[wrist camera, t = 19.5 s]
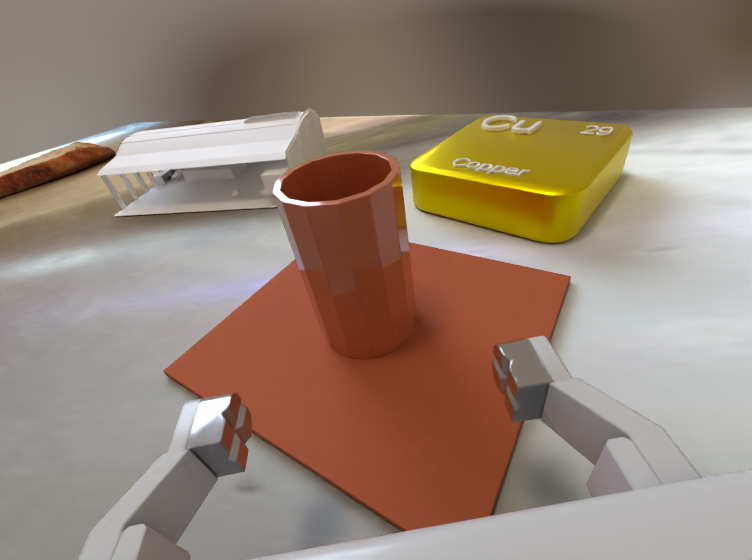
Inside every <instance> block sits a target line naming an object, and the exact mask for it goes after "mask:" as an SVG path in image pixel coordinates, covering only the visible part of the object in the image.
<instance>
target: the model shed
mask: <svg viewBox="0 0 752 560" xmlns="http://www.w3.org/2000/svg"><path fill="white" fill-rule="evenodd" d="M120 144H121V146H120V148H119V150H118V152H117V154H116V157H115V158H113V159H112V160H111V161H110V162H109V163H108V164H106V165H105V166H104V167H103V168H102V169H101V170H100V171H99V173H98V174H97V176H101V177H102V179H103V181H104V182H105V184H106V185H107V187H108V188H109V190H110V191H111V193H112V194H113V196H114V197H115V199H116V200H117V202H118V203H119V205H120V206H121V208H122V209H123V210H121V211H120V212H118V213H117V214H116V215H114V216H127V215H145V214H163V213H180V212H198V211H215V210H233V209H251V208H268V207H277V205H276V202H275V200H274V197H273V194H272V192H273V188H274V184H275V181H276V180H277V179H278V178H280V177H281V176H282V175H283V174H284V173H285V172H287V171H288V170H289V169H291V168H293V167H295V166H297V165H300V164H302V163H304V162H306V161H308V160H311V159H314V158H318V157H321V156H325V155H328V152H327V148H326V144H325V139H324V135H323V131H322V126H321V122H320V118H319V116H318V115H317V112H316V111H314V110H312V109H310V108H308V109H307V110H306V111H305V112H300V111H295V112H286V113H278V114H270V115H261V116H253V117H250V118H248V119H241V120H233V121H224V122H216V123H208V124H199V125H191V126H182V127H174V128H165V129H157V130H148V131H140V132H136V133H135V134H133V135H131V136H128V137H127V138H126V139H125V140H124V141H123V142H122V143H120ZM151 171H158V173H156V174H155V175H153V174H152V172H151ZM139 172H146V173H147V175H148V176H149V178H150V180H151V182H152V183H153V185H154V186H155V187H153V188H152V189H150V190H149V189H148V188H147V186H146V184H145V183H144V181H143V179H142V178H141V176H140V174H139ZM124 173H133V174H134V175H135V177H136V179H137V180H138V182H139V184H140V185H141V187H142V189H143V190H144V192H145V194H144V195H142V196H141V197H138V195H137V193H136V192H135V190H134V188H133V187H132V185H131V183H130V182H129V180H128V179H127V177H126V175H125V174H124ZM113 174H119V175H120V177H121V179H122V180H123V182H124V183H125V185H126V187H127V188H128V190H129V191H130V193H131V195H132V196H133V198H134V199H135V201H134V202H132V203H131V204H130V205H128V206H126V205H125V203H124V202H123V200H122V198H121V197H120V195H119V194H118V192H117V191H116V189H115V188H114V186H113V185H112V183H111V182H110V180H109V178H108V177H107V175H113Z"/></svg>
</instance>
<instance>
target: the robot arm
mask: <svg viewBox="0 0 752 560" xmlns="http://www.w3.org/2000/svg"><path fill="white" fill-rule="evenodd" d="M493 353H494V356H495V359H494V360H493V361H492V371H493V377H494V380H495V383H496V385H497V388H498V390H499V391H500V392H501V393H503V394H504V395H505V400H504V404H505V406H506V408H507V411H508V413H509V415H510V417H511V420H512V422H520V421H526V420H533V419H539V418H541V420H542V421H543V422H544V423H545V424H546V425H547V426H549V427H550V428H551V429H552V430H553V431H555V432H556V433H557V434H558V435H559V436H561V437H562V438H563V439H564V440H565V441H567V442H568V443H569V444H570V445H571V446H572V447H574V448H575V449H576V450H577V451H578V452H580V453H581V454H582V455H583V456H584V457H586V458H587V459H588V460H589V461H590V462H592V463H593V464H594V465H595V467H594V469H593V471H592V473H591V475H590V477H589V479H588V481H587V484H586V485H587V487H588V489H589V491H590V493H591V495H592V497H593V498H587V499H582V500H576V501H571V502H565V503H560V504H554V505H548V506H543V507H537V508H532V509H526V510H521V511H515V512H509V513H504V514H498V515H493V516H487V517H482V518H476V519H470V520H465V521H459V522H454V523H448V524H443V525H437V526H431V527H426V528H420V529H415V530H409V531H404V532H398V533H393V534H387V535H381V536H376V537H370V538H365V539H359V540H354V541H348V542H343V543H337V544H331V545H326V546H320V547H315V548H309V549H304V550H298V551H293V552H287V553H282V554H276V555H270V556H265V557H259V558H254V559H248V560H752V469H749V470H743V471H738V472H732V473H727V474H721V475H715V476H710V477H704V478H702V477H701V476H700V474H699V473H698V472H697V471H696V469H695V468H694V467H693V465H692V464H691V463H690V462H689V460H688V459H687V458H686V456H685V455H684V454H683V453H682V451H681V450H680V449H679V447H678V446H677V445H676V444H675V442H674V441H673V440H672V438H671V437H670V436H669V435H668V433H667V432H666V431H665V429H664V428H662V427H660V426H659V425H657V424H655V423H654V422H652V421H650V420H649V419H647V418H645V417H644V416H642V415H640V414H639V413H637V412H635V411H633V410H632V409H630V408H628V407H627V406H625V405H623V404H622V403H620V402H618V401H617V400H615V399H613V398H611V397H610V396H608V395H606V394H605V393H603V392H601V391H600V390H598V389H596V388H595V387H593V386H591V385H590V384H588V383H586V382H584V381H583V380H581V379H579V378H573V377H572V376H571V374H570V373H569V371H568V370H567V368H566V367H565V365H564V364H563V362H562V361H561V359H560V358H559V356H558V355H557V353H556V351H555V350H554V348H553V347H552V345H551V344H550V342H549V341H548V339H547V338H546V337H545V336H538V337H533V338H527V339H520V340H515V341H510V342H505V343H500V344H495V345H494V347H493ZM251 432H252V417H251V413H250V411H249V409H248V408H247V407H246V406H244V405H242V404H241V397H240V396H239V395H238V393H233V394H227V395H220V396H214V397H208V398H202V399H196V400H190V401H187V402H186V403H185V404H184V406H183V408H182V410H181V413H180V416H179V419H178V422H177V424H176V427H175V430H174V433H173V436H172V439H171V441H170V444H169V447H168V450H167V453H164V454H161V455H160V456H159V457H158V459H157V460H156V461H155V462H154V463H153V464H152V465H151V466H150V467H149V468H148V469H147V470H146V472H145V473H144V474H143V475H142V476H141V477H140V478H139V479H138V480H137V481H136V482H135V483H134V485H133V486H132V487H131V488H130V489H129V490H128V491H127V492H126V493H125V494H124V495H123V497H122V498H121V499H120V500H119V501H118V502H117V503H116V504H115V505H114V506H113V507H112V508H111V510H110V511H109V512H108V513H107V514H106V515H105V516H104V517H103V518H102V519H101V520H100V521H99V523H98V524H97V525H96V526H95V527H94V528H93V529H92V530H91V531H90V533H89V535H88V538H87V540H86V542H85V544H84V547H83V549H82V551H81V553H80V556H79V558H78V560H190V555H189V553H188V552H187V551H186V550H184V549H183V548H181V547H180V546H178V545H176V543H177V541H178V540H179V538H180V537H181V535H182V533H183V532H184V530H185V529H186V527H187V526H188V524H189V523H190V521H191V520H192V518H193V517H194V515H195V513H196V512H197V510H198V509H199V507H200V506H201V504H202V503H203V501H204V500H205V498H206V496H207V495H208V493H209V492H210V490H211V489H212V487H213V486H214V484H215V483H216V481H217V480H218V478H217V477H221V476H225V475H230V474H235V473H240V472H244V471H245V467H246V461H247V456H248V448H247V447H246V445H245V443H246V442H247V440H248V439H249V438H250V437H251Z"/></svg>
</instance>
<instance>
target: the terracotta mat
mask: <svg viewBox="0 0 752 560" xmlns="http://www.w3.org/2000/svg"><path fill="white" fill-rule="evenodd" d="M409 251H410V260H411V269H412V278H413V287H414V296H415V305H416V324H415V328H414V330H413V332H412V334H411V336H410V337H409V338H408V340H407V341H406V342H405V343H404V344H403V345H402V346H400V347H399V348H398V349H396V350H394V351H392V352H390V353H388V354H386V355H383V356H380V357H375V358H369V359H357V358H351V357H347V356H344V355H342V354H340V353H338V352H336V351H335V350H334V349H332V348H331V347H330V346H329V344H328V343H327V341H326V339H325V337H324V334H323V333H322V331H321V329H320V326H319V323H318V320H317V317H316V315H315V312H314V309H313V306H312V303H311V301H310V298H309V295H308V292H307V289H306V287H305V284H304V281H303V278H302V275H301V273H300V270H299V267H298V264H297V261H296V259H295V260H294V261H293V262H291V263H290V264H289V265H288V266H287V267H285V268H284V269H283V270H282V271H281V272H280V273H278V274H277V275H276V276H275V277H274V278H272V279H271V280H270V281H269V282H268V283H267V284H265V285H264V286H263V287H262V288H261V289H259V290H258V291H257V292H256V293H255V294H254V295H252V296H251V297H250V298H249V299H248V300H246V301H245V302H244V303H243V304H242V305H241V306H239V307H238V308H237V309H236V310H235V311H234V312H232V313H231V314H230V315H229V316H228V317H226V318H225V319H224V320H223V321H222V322H221V323H219V324H218V325H217V326H216V327H215V328H213V329H212V330H211V331H210V332H209V333H208V334H206V335H205V336H204V337H203V338H202V339H200V340H199V341H198V342H197V343H196V344H195V345H193V346H192V347H191V348H190V349H189V350H188V351H186V352H185V353H184V354H183V355H182V356H180V357H179V358H178V359H177V360H176V361H175V362H173V363H172V364H171V365H170V366H169V367H167V368H166V369H165V370H164V373H165V374H166V375H167V376H168V377H170V378H171V379H173V380H174V381H176V382H177V383H179V384H180V385H182V386H183V387H185V388H186V389H188V390H189V391H191V392H192V393H194V394H195V395H197V396H198V397H200V398H201V399H202V398H208V397H214V396H220V395H227V394H233V393H238V395H239V396H240V397H241V404H242V405H244V406H246V407H247V408H248V409H249V411H250V413H251V417H252V432H253V433H254V434H256V435H257V436H259V437H260V438H262V439H263V440H265V441H266V442H268V443H269V444H271V445H272V446H274V447H275V448H277V449H278V450H280V451H281V452H283V453H284V454H286V455H288V456H289V457H291V458H292V459H294V460H295V461H297V462H298V463H300V464H301V465H303V466H304V467H306V468H307V469H309V470H310V471H312V472H313V473H315V474H316V475H318V476H319V477H321V478H322V479H324V480H325V481H327V482H328V483H330V484H331V485H333V486H334V487H336V488H337V489H339V490H340V491H342V492H343V493H345V494H346V495H348V496H350V497H351V498H353V499H354V500H356V501H357V502H359V503H360V504H362V505H363V506H365V507H366V508H368V509H369V510H371V511H372V512H374V513H375V514H377V515H378V516H380V517H381V518H383V519H384V520H386V521H387V522H389V523H390V524H392V525H393V526H395V527H396V528H398V529H399V530H401V531H402V532H404V531H409V530H415V529H420V528H426V527H431V526H437V525H443V524H448V523H454V522H459V521H465V520H470V519H476V518H482V517H487V516H491V514H492V511H493V508H494V505H495V502H496V499H497V496H498V493H499V490H500V487H501V484H502V481H503V478H504V475H505V472H506V469H507V466H508V463H509V460H510V457H511V454H512V451H513V448H514V445H515V442H516V439H517V436H518V433H519V430H520V427H521V424H522V421H520V422H512V420H511V417H510V415H509V413H508V411H507V408H506V406H505V404H504V400H505V395H504V394H503V393H501V392H500V391H499V390H498V388H497V385H496V383H495V380H494V377H493V371H492V361H493V360H494V359H495V356H494V353H493V347H494V345H495V344H500V343H505V342H510V341H515V340H520V339H527V338H533V337H538V336H545V337H546V338H547V339H548V341H550V338H551V335H552V332H553V329H554V326H555V323H556V320H557V317H558V314H559V312H560V309H561V306H562V303H563V300H564V297H565V294H566V291H567V288H568V285H569V282H570V278H571V277H570V276H567V275H562V274H557V273H552V272H548V271H543V270H538V269H533V268H529V267H524V266H519V265H514V264H510V263H505V262H500V261H495V260H491V259H486V258H481V257H476V256H472V255H467V254H462V253H457V252H453V251H448V250H443V249H438V248H434V247H429V246H424V245H419V244H415V243H410V242H409Z"/></svg>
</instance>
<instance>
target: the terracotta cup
mask: <svg viewBox="0 0 752 560" xmlns="http://www.w3.org/2000/svg"><path fill="white" fill-rule="evenodd" d="M272 194H273V197H274V200H275V202H276V205H277V208H278V211H279V214H280V216H281V219H282V222H283V225H284V228H285V230H286V233H287V236H288V239H289V242H290V244H291V247H292V250H293V253H294V256H295V259H296V261H297V264H298V267H299V270H300V273H301V275H302V278H303V281H304V284H305V287H306V289H307V292H308V295H309V298H310V301H311V303H312V306H313V309H314V312H315V315H316V317H317V320H318V323H319V326H320V329H321V331H322V333H323V334H324V337H325V339H326V341H327V343H328V344H329V346H330V347H331V348H332V349H334V350H335V351H336V352H338V353H340V354H342V355H344V356H347V357H351V358H357V359H369V358H375V357H380V356H383V355H386V354H388V353H390V352H392V351H394V350H396V349H398V348H399V347H400V346H402V345H403V344H404V343H405V342H406V341H407V340H408V338H409V337H410V336H411V334H412V332H413V330H414V328H415V324H416V305H415V296H414V287H413V278H412V269H411V260H410V251H409V242H408V233H407V224H406V215H405V206H404V197H403V188H402V179H401V170H400V167H399V165H398V162H397V160H396V158H394V157H392V156H389V155H387V154H385V153H382V152H375V151H362V150H357V151H347V152H338V153H332V154H329V155H325V156H321V157H318V158H314V159H311V160H308V161H306V162H304V163H302V164H300V165H297V166H295V167H293V168H291V169H289V170H288V171H287V172H285V173H284V174H283V175H282V176H281V177H280V178H278V179H277V180H276V181H275V184H274V188H273V192H272Z"/></svg>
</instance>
